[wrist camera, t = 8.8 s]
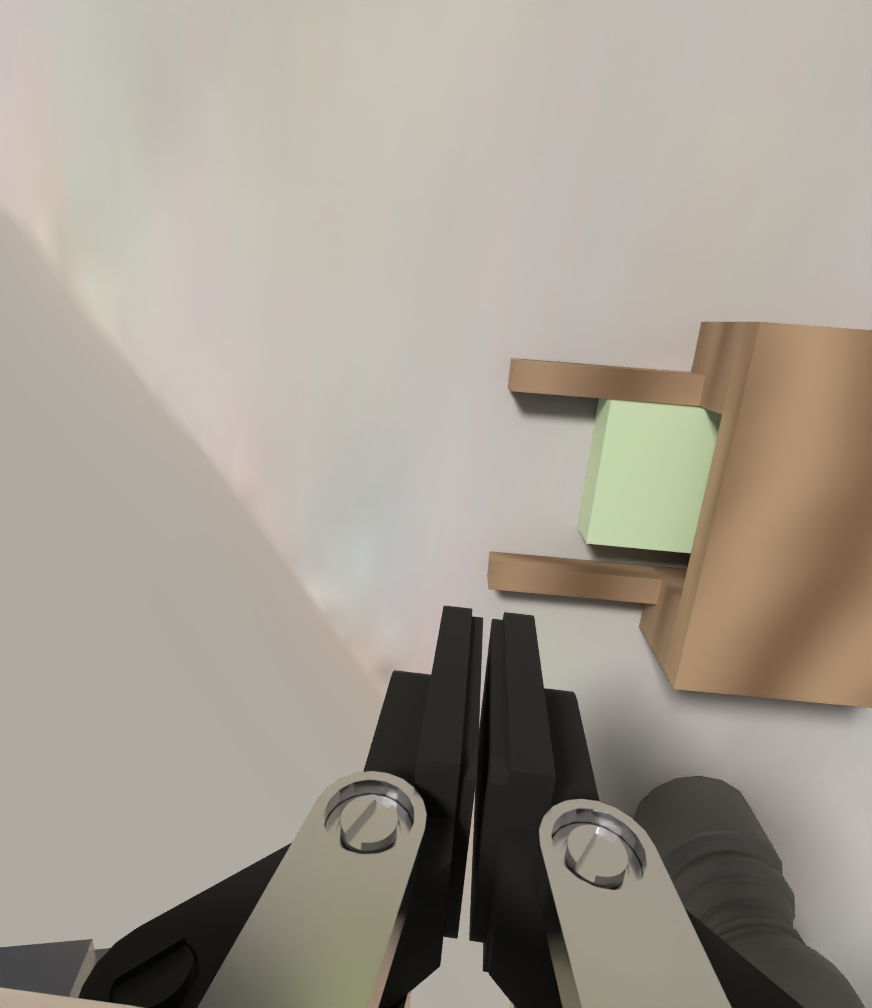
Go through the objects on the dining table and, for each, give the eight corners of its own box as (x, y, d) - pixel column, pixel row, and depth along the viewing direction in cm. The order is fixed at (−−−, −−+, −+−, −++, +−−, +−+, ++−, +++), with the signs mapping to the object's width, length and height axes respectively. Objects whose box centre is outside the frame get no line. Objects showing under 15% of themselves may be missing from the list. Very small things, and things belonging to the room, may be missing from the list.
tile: (575, 523, 27) (586, 543, 24) (597, 393, 25) (611, 400, 22) (815, 546, 26) (850, 568, 24) (855, 416, 24) (896, 426, 22)
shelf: (483, 612, 28) (486, 671, 23) (516, 307, 23) (528, 304, 19) (823, 643, 27) (895, 710, 23) (920, 338, 23) (1035, 342, 18)
